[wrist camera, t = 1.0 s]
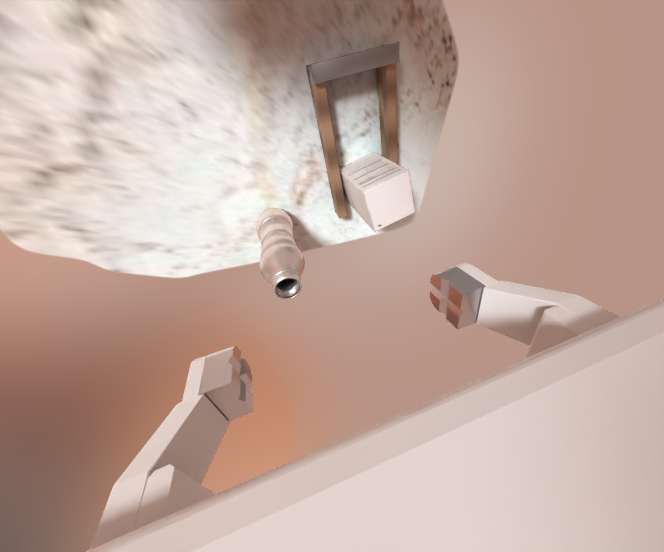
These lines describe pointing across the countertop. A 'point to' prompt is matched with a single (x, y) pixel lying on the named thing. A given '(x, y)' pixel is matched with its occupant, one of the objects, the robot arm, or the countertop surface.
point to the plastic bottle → (280, 253)
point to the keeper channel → (386, 71)
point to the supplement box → (378, 190)
